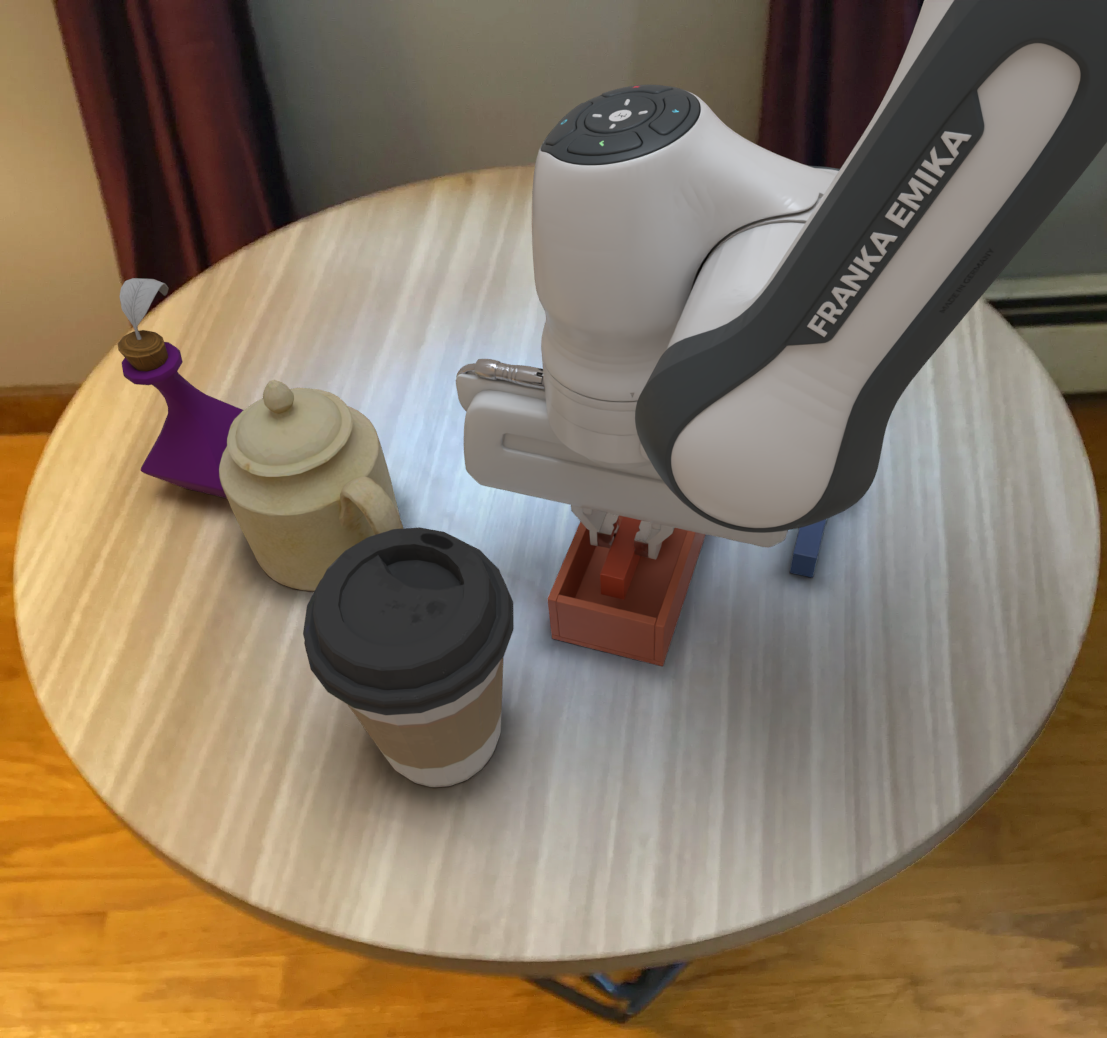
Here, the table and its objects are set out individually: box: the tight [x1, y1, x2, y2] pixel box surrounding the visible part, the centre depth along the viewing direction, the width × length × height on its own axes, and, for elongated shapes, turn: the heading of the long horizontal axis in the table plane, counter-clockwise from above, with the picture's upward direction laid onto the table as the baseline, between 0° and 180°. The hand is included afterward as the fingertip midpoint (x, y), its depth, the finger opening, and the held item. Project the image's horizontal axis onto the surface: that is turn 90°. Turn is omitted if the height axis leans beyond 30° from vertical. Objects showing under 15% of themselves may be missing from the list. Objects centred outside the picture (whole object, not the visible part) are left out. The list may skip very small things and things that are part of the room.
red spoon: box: [600, 516, 641, 600], centre depth 69 cm, size 10×4×2 cm, turn 161°
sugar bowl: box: [219, 379, 404, 592], centre depth 70 cm, size 15×11×15 cm
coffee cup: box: [302, 526, 515, 788], centre depth 59 cm, size 11×11×15 cm
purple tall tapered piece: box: [117, 277, 244, 499], centre depth 74 cm, size 8×8×18 cm
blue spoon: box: [789, 519, 827, 578], centre depth 74 cm, size 10×4×2 cm, turn 161°
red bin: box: [546, 516, 707, 667], centre depth 71 cm, size 8×14×4 cm, turn 161°
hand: (626, 544), depth 67 cm, fingers closed on red spoon, 1 cm apart
